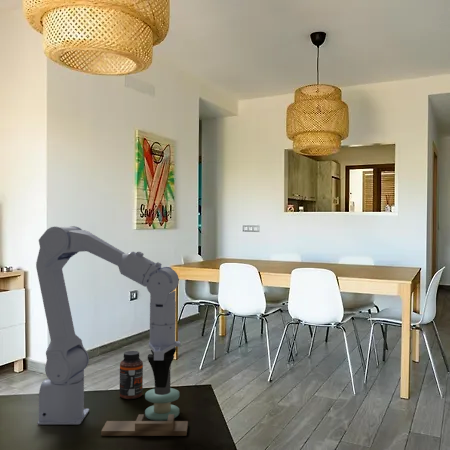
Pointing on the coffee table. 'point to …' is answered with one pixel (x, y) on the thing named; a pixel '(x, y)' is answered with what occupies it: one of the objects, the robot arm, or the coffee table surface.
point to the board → (145, 427)
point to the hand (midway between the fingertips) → (162, 383)
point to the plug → (167, 389)
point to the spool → (161, 405)
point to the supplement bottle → (131, 375)
